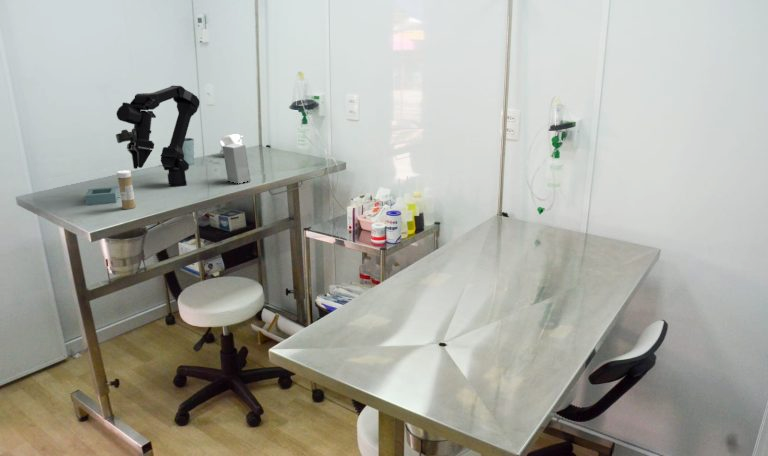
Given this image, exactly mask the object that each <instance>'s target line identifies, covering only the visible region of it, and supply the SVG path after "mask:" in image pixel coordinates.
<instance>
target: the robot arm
mask: <svg viewBox="0 0 768 456" xmlns="http://www.w3.org/2000/svg"><path fill="white" fill-rule="evenodd" d="M172 99H173V101H174V102H175V103H176V109H177V112H178V115H177V118H176V122H175V124H174V129H173V132H172V136H171V139H170V143H169V145H168V146H167V147H166V146H163V148H162V151H161V153H160V162H161V165H162V167H163V170H164V171H168V172H167V180H168V181H167V182H168V185H169V187H179V186H187V185H188V184H187V179H186V172H187V171H188V170H189V168H190V165H189V164H188V163H187V162H186V161H185V160H184V153H183V150H182V147H183V144H184V140H185V138H187V137H186V136H187V133H188V130H189V125H190V121H191V118H192V116H194V115H195V114H196V113H197V111H198V109H199V107H200V99H199V98H198V96H197V95H195V94H194V93H193V92H190V91H189V90H187V89H185V88H184V87H183V86H182V85H170V86H169V87H166V88H162V89H160V90H156V91H154V92H149V93H147V92H146V93H143V92H142V93H141V92H140V93H136V94H135V95H134V98H133V99H132V100H131V101H130V102H129V103H128V102H122V105H120V107H118V109H117V111H116V118H117V119H118V120H119V121H121V122H123V123H128V124H131V125H133V128H132V129H131V131H129V130H127V129H122V130H120V131H121V132H119V133H117V134H115V137H116V138H115V139H116V142H117V143H118V144H120V143H124V142H129V143H127V145H126V149H127V152H129V153H130V154H131V158H132V166H133V169H134V170H135V169H138V168H139V169H142V168H143V167H144V165H145V163H146V162H147V159H148V158H149V156H150V155H151V153H152V152H153V150H154V147H155V143H154V142H153V141H152V140H150V137H151V134H152V130H151V129H152V128H151V127H152V118H153V119H156V117H157V115H156V114H155V113H154V112H153V110H155V109H156V108H158V107H159V106H160V104H161V103H163V102H166V101H169V100H172Z"/></svg>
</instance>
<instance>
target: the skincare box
mask: <svg viewBox="0 0 768 456" xmlns="http://www.w3.org/2000/svg"><path fill="white" fill-rule="evenodd" d="M223 152H224V155H223V158H224V162H225V163H224V164H225V169H226V170H225V171H226V178H227V182H228V181H230V182H229V183H232V182H234V184H237V183H238V184H237V185H240V184H239V183H241V184H243V182H245V183H248V182H247V181H250V182H252V181H251V174H250V169H249V161H248V155H247V153H248V152H247V147H246V145H245V144H242V145H240V144H230V145H225V146H223ZM223 152H222V153H223Z"/></svg>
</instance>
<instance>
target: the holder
mask: <svg viewBox="0 0 768 456" xmlns="http://www.w3.org/2000/svg"><path fill="white" fill-rule="evenodd" d="M118 188H119V187H118V186H110V187H108V186H107V187H97V188H89V189H87V191H86V193H85V195H84V198H85V203H86V206H91V205H102V204H103V205H104V204H111V203H115V204H116V203H117V202H118V198H119V197H120V195H119V189H118Z"/></svg>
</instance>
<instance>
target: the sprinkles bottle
mask: <svg viewBox="0 0 768 456" xmlns="http://www.w3.org/2000/svg"><path fill="white" fill-rule="evenodd" d="M116 177H117V179H118V181H117V182H118V186H119V187H118V188H119V193H120V195H119V196H120V199H121V208H122V209H123V210H131V209H134V208H136V201H135V194H134V187H133V182H132V172H131V170H128V169H126V170H125V169H124V170H118V171H117V172H116Z"/></svg>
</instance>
